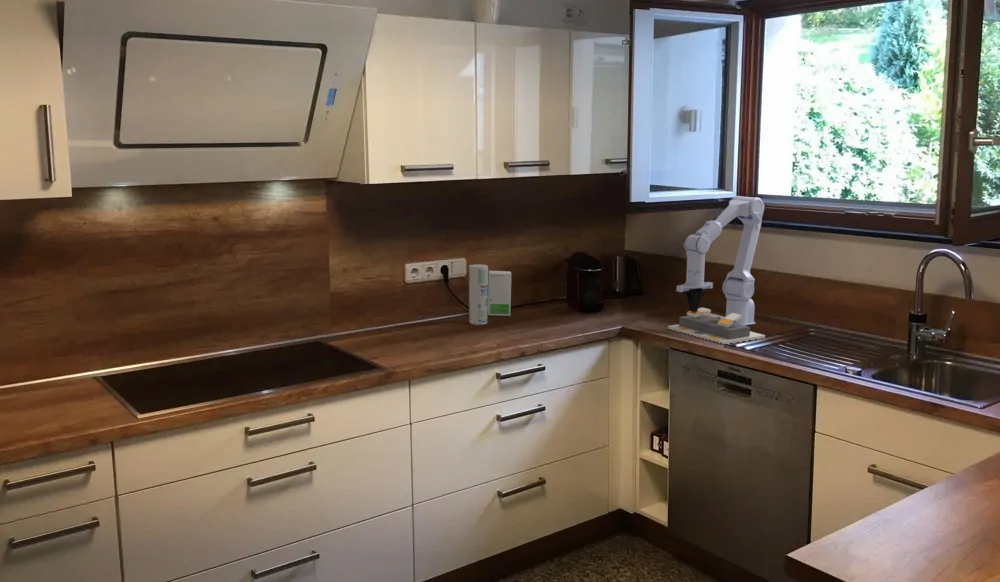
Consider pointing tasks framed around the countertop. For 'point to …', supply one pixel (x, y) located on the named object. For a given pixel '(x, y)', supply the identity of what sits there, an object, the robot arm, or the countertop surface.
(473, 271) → the spray can
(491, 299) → the skincare box
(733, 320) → the block
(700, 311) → the rocker
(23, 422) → the countertop surface
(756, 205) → the robot arm
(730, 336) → the switch unit
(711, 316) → the rocker
